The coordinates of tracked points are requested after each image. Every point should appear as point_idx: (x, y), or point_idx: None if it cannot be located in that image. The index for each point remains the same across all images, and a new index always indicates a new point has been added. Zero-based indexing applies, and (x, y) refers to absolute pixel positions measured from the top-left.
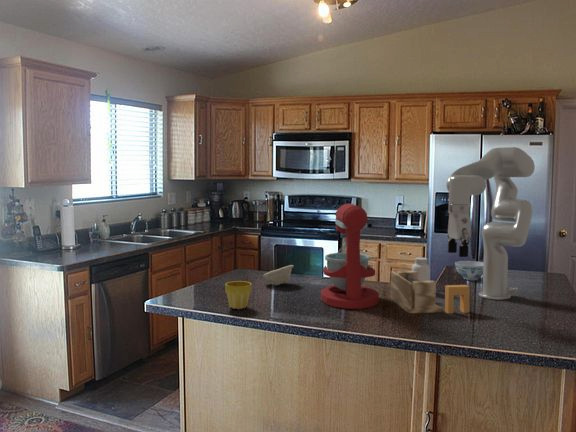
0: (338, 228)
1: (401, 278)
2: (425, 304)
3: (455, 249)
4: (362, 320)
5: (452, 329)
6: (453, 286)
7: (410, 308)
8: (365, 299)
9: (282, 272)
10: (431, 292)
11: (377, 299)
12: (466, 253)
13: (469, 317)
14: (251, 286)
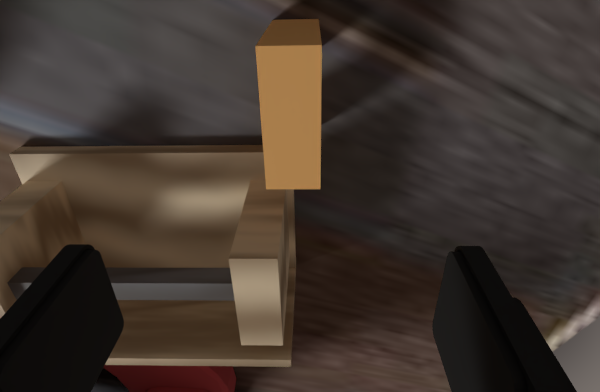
0: None
1: (167, 363)
2: (287, 229)
3: (80, 290)
4: (354, 384)
5: (531, 195)
6: (302, 154)
7: (295, 272)
8: (211, 380)
9: None
10: (282, 240)
11: None
12: (520, 307)
13: (398, 53)
14: None
